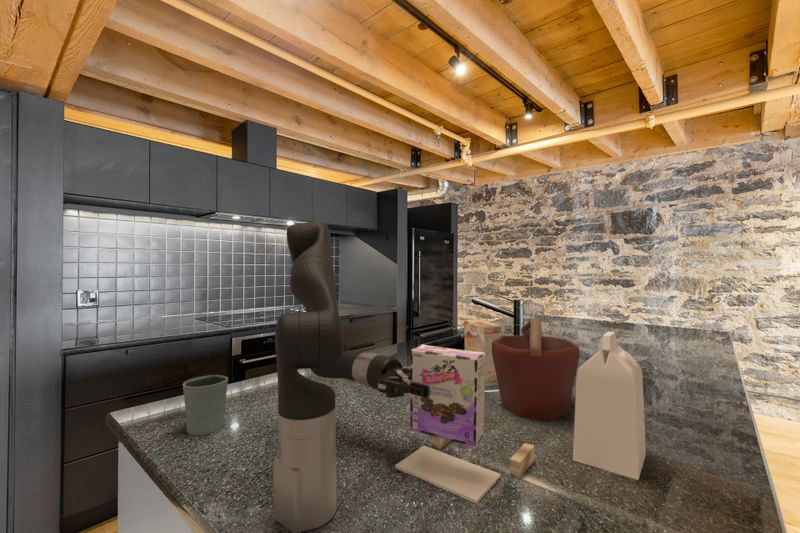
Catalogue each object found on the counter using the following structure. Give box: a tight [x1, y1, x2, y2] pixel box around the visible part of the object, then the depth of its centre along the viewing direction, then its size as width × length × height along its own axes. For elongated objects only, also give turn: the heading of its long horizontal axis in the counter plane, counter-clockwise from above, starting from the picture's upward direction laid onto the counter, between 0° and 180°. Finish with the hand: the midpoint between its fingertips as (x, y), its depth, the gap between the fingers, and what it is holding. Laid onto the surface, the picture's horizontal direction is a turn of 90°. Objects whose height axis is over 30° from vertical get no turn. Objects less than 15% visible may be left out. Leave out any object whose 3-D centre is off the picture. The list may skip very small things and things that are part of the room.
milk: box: [572, 330, 647, 481], centre depth 77 cm, size 12×12×26 cm
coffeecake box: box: [463, 318, 502, 383], centre depth 135 cm, size 15×7×20 cm, turn 17°
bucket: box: [492, 317, 580, 422], centre depth 104 cm, size 24×22×25 cm
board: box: [394, 445, 502, 505], centre depth 72 cm, size 10×18×1 cm, turn 51°
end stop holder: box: [432, 436, 535, 479], centre depth 80 cm, size 8×20×3 cm, turn 51°
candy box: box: [409, 343, 486, 448], centre depth 73 cm, size 14×6×16 cm, turn 61°
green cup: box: [182, 374, 229, 436], centre depth 94 cm, size 10×10×12 cm
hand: (438, 387), depth 73 cm, fingers closed on candy box, 6 cm apart
